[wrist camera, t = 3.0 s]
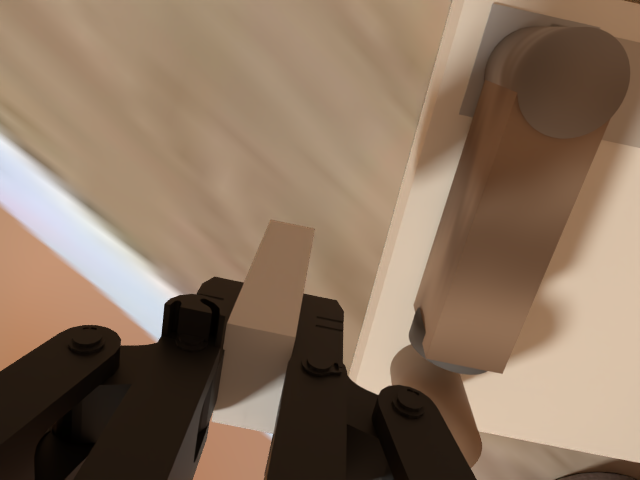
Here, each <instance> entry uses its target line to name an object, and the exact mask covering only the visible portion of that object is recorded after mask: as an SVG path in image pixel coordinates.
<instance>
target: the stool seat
mask: <svg viewBox="0 0 640 480" xmlns="http://www.w3.org/2000/svg"><path fill="white" fill-rule="evenodd" d="M532 26H545V27H593V28H598V29H601V30H604V31H606V32H608V33H609V34H611V35H612V36H614V37H615V38H616V39H617V40H618V41H619V42H620V43H621V45H622V46H623V47H624V49H625V51H626V53H627V56H628V59H629V64H630V82H629V87H628V90H627V93H626V96H625V98H624V100H623V102H622V104H621V105H620V107H619V109H618V110H617V111H616V113H615V114H614V115H613V116H612V117H611V119H610V121H609V124H608V126H607V128H606V131H605V133H604V135H603V138H602V140H601V142H600V145H599V147H598V150H597V152H596V154H595V157H594V159H593V161H592V164H591V166H590V168H589V171H588V173H587V175H586V178H585V180H584V183H583V185H582V187H581V190H580V192H579V194H578V197H577V199H576V201H575V204H574V206H573V209H572V211H571V213H570V216H569V218H568V220H567V223H566V225H565V227H564V230H563V232H562V235H561V237H560V239H559V242H558V244H557V246H556V249H555V251H554V253H553V256H552V258H551V261H550V263H549V265H548V268H547V270H546V272H545V275H544V277H543V279H542V282H541V284H540V286H539V289H538V291H537V294H536V296H535V298H534V301H533V303H532V305H531V308H530V310H529V312H528V315H527V317H526V320H525V322H524V324H523V327H522V329H521V331H520V334H519V336H518V338H517V341H516V343H515V346H514V348H513V350H512V353H511V355H510V357H509V360H508V362H507V364H506V367H505V369H504V371H503V374H500V373H495V372H490V371H487V372H485V373H482V374H477V375H466V374H459V373H455V372H451V371H448V370H445V369H443V368H441V367H438V366H436V365H434V364H433V363H431V362H429V361H428V360H426V359H425V358H424V357H422V356H421V355H420V354H419V353H418V352H417V351H416V350H415V349H414V348H413V346H412V345H411V343H410V340H409V331H410V328H411V324H412V321H413V318H414V315H415V310H414V306H413V305H414V302H415V299H416V295H417V292H418V289H419V286H420V283H421V280H422V277H423V273H424V270H425V267H426V264H427V261H428V258H429V254H430V251H431V248H432V245H433V242H434V239H435V236H436V232H437V229H438V226H439V223H440V220H441V217H442V213H443V210H444V207H445V204H446V201H447V198H448V195H449V191H450V188H451V185H452V182H453V179H454V176H455V172H456V169H457V166H458V163H459V160H460V157H461V154H462V150H463V147H464V144H465V141H466V138H467V135H468V132H469V128H470V125H471V122H472V119H473V116H474V113H475V109H476V106H477V103H478V100H479V97H480V94H481V91H482V87H483V84H484V74H485V68H486V64H487V61H488V58H489V56H490V54H491V53H492V51H493V50H494V48H495V47H496V46H497V44H498V43H499V42H500V41H501V40H502V39H503V38H505V37H506V36H507V35H509V34H510V33H512V32H514V31H516V30H519V29H521V28H525V27H532ZM349 378H350V379H351V380H352V381H353V382H355V383H356V384H357V385H358V386H360V387H362V388H364V389H366V390H368V391H370V392H373V393H375V394H377V395H379V393H380V391H381V390H382V389H384V388H385V387H387V386H392V385H402V386H408V387H411V388H414V389H416V390H418V391H421V392H422V393H424V394H425V395H426V396H428V397H429V398H430V399H431V400H432V401H433V402H434V404H435V405H436V406H437V408H438V410H439V411H440V413H441V415H442V417H443V419H444V421H445V422H446V424H447V426H448V428H449V430H450V432H451V433H452V435H453V437H454V439H455V441H456V443H457V444H458V446H459V448H460V450H461V452H462V454H463V456H464V457H465V459H466V461H467V463H468V465H469V467H470V468H471V467H473V465H474V464H475V463H476V462H477V461H478V459H479V457H480V455H481V451H482V442H481V438H480V435H479V432H478V431H480V432H485V433H490V434H495V435H501V436H506V437H511V438H516V439H521V440H526V441H531V442H536V443H541V444H546V445H551V446H556V447H561V448H566V449H572V450H577V451H582V452H587V453H592V454H597V455H602V456H607V457H612V458H617V459H622V460H627V461H632V462H638V463H640V4H637V3H633V2H628V1H624V0H452V4H451V8H450V11H449V15H448V19H447V22H446V26H445V29H444V33H443V37H442V40H441V44H440V47H439V51H438V55H437V58H436V62H435V66H434V69H433V73H432V76H431V80H430V84H429V87H428V91H427V94H426V98H425V102H424V105H423V109H422V113H421V116H420V120H419V123H418V127H417V131H416V134H415V138H414V141H413V145H412V149H411V152H410V156H409V160H408V163H407V167H406V170H405V174H404V178H403V181H402V185H401V188H400V192H399V196H398V199H397V203H396V207H395V210H394V214H393V217H392V221H391V225H390V228H389V232H388V235H387V239H386V243H385V246H384V250H383V254H382V257H381V261H380V264H379V268H378V272H377V275H376V279H375V282H374V286H373V290H372V293H371V297H370V301H369V304H368V308H367V311H366V315H365V319H364V322H363V326H362V329H361V333H360V337H359V340H358V344H357V348H356V351H355V355H354V358H353V362H352V366H351V369H350V373H349Z"/></svg>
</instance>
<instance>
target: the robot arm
mask: <svg viewBox="0 0 640 480" xmlns="http://www.w3.org/2000/svg"><path fill="white" fill-rule="evenodd" d="M314 230H315V229H313V228H309V227H304V226H299V225H294V224H290V223H285V222H280V221H275V220H270V222H269V225H268V227H267V229H266V232H265V234H264V237H263V239H262V241H261V244H260V246H259V248H258V251H257V253H256V256H255V258H254V260H253V263H252V265H251V267H250V270H249V272H248V274H247V277H246V279H245V282H244V283H243V282H238V281H233V280H228V279H223V278H218V277H213V278H211V279H210V280H208V281H206V282H204V283H203V284H202V285H201V287H200V289H199V290H198V292H197V295H195V294H188V295H179V296H177V297H174V298H171V299H170V300H168V301H167V302H166V303H165V305H164V315H163V325H162V336H161V338H160V339H159V341H158V342H157V343H154V344H149V345H139V346H120V345H121V339H120V337H119V336H118V334H117V333H116V332H114V331H112V330H111V329H109V328H106V327H102V326H97V325H82V326H77V327H73V328H70V329H67V330H65V331H63V332H61V333H59V334H57V335H56V336H55V337H53V338H51V339H50V340H48V341H47V342H45V343H44V344H42V345H40V346H39V347H37V348H36V349H34V350H33V351H31V352H30V353H28V354H27V355H25V356H23V357H22V358H20V359H19V360H17V361H16V362H14V363H13V364H11V365H9V366H8V367H6V368H5V369H3V370H2V371H0V480H193V477H194V474H195V471H196V468H197V465H198V462H199V459H200V457H201V454H202V451H203V448H204V445H205V442H206V439H207V434H208V426H209V421H210V418H211V416H212V413H213V417H212V422H217V423H221V424H227V425H232V426H237V427H242V428H247V429H252V430H257V431H262V432H267V433H272V434H273V437H272V442H271V447H270V452H269V456H268V460H267V465H266V470H265V477H264V480H477V479H476V478H475V476H474V474H473V472H472V470H471V468H470V467H469V465H468V463H467V461H466V459H465V457H464V456H463V454H462V452H461V450H460V448H459V446H458V444H457V443H456V441H455V439H454V437H453V435H452V433H451V432H450V430H449V428H448V426H447V424H446V422H445V421H444V419H443V417H442V415H441V413H440V411H439V410H438V408H437V406H436V405H435V404H434V402H433V401H432V400H431V399H430V398H429V397H428V396H426V395H425V394H424V393H422V392H421V391H418V390H416V389H414V388H411V387H408V386H402V385H392V386H387V387H385V388H384V389H382V390H381V391H380V393H379V395H377V394H375V393H373V392H370V391H368V390H366V389H364V388H362V387H360V386H358V385H357V384H356V383H355V382H353V381H352V380H351V379H350V378H349V377H348V376H347V370H346V367H345V365H344V364H343V321H344V311H343V309H342V308H341V306H340V305H339V303H338V302H337V300H332V299H327V298H322V297H317V296H312V295H308V294H303V292H304V287H305V281H306V275H307V270H308V264H309V258H310V253H311V247H312V242H313V236H314Z"/></svg>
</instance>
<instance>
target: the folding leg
mask: <svg viewBox="0 0 640 480" xmlns="http://www.w3.org/2000/svg"><path fill="white" fill-rule="evenodd" d="M629 82H630V64H629V59H628V56H627V53H626V51H625V49H624V47H623V46H622V45H621V43H620V42H619V41H618V40H617V39H616V38H615V37H614V36H612V35H611V34H609V33H608V32H606V31H604V30H601V29H598V28H593V27H545V26H532V27H525V28H521V29H519V30H516V31H514V32H512V33H510V34H509V35H507V36H506V37H505V38H503V39H502V40H501V41H500V42H499V43H498V44H497V46H496V47H495V48H494V50H493V51H492V53H491V54H490V56H489V58H488V61H487V64H486V68H485V74H484V84H483V87H482V91H481V94H480V97H479V100H478V103H477V106H476V109H475V113H474V116H473V119H472V122H471V125H470V128H469V132H468V135H467V138H466V141H465V144H464V147H463V150H462V154H461V157H460V160H459V163H458V166H457V169H456V172H455V176H454V179H453V182H452V185H451V188H450V191H449V195H448V198H447V201H446V204H445V207H444V210H443V213H442V217H441V220H440V223H439V226H438V229H437V232H436V236H435V239H434V242H433V245H432V248H431V251H430V254H429V258H428V261H427V264H426V267H425V270H424V273H423V277H422V280H421V283H420V286H419V289H418V292H417V295H416V299H415V302H414V305H413V306H414V310H415V315H414V318H413V321H412V324H411V328H410V331H409V340H410V343H411V345H412V346H413V348H414V349H415V350H416V351H417V352H418V353H419V354H420V355H421V356H422V357H424V358H425V359H426V360H428V361H429V362H431V363H433V364H434V365H436V366H438V367H441V368H443V369H445V370H448V371H451V372H455V373H459V374H466V375H477V374H482V373H485V372H487V371H490V372H495V373H500V374H503V371H504V369H505V367H506V364H507V362H508V360H509V357H510V355H511V353H512V350H513V348H514V346H515V343H516V341H517V338H518V336H519V334H520V331H521V329H522V327H523V324H524V322H525V320H526V317H527V315H528V312H529V310H530V308H531V305H532V303H533V301H534V298H535V296H536V294H537V291H538V289H539V286H540V284H541V282H542V279H543V277H544V275H545V272H546V270H547V268H548V265H549V263H550V261H551V258H552V256H553V253H554V251H555V249H556V246H557V244H558V242H559V239H560V237H561V235H562V232H563V230H564V227H565V225H566V223H567V220H568V218H569V216H570V213H571V211H572V209H573V206H574V204H575V201H576V199H577V197H578V194H579V192H580V190H581V187H582V185H583V183H584V180H585V178H586V175H587V173H588V171H589V168H590V166H591V164H592V161H593V159H594V157H595V154H596V152H597V150H598V147H599V145H600V142H601V140H602V138H603V135H604V133H605V131H606V128H607V126H608V124H609V121H610V119H611V117H612V116H613V115H614V114H615V113H616V111H617V110H618V109H619V107H620V105H621V104H622V102H623V100H624V98H625V96H626V93H627V90H628V87H629Z"/></svg>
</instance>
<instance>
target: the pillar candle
mask: <svg viewBox="0 0 640 480" xmlns="http://www.w3.org/2000/svg"><path fill="white" fill-rule="evenodd" d="M557 480H636V479H634V478H631V477H628V476H625V475H619V474H615V473H604V472H595V473H582V474H576V475H572V476H568V477H563V478H559V479H557Z"/></svg>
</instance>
